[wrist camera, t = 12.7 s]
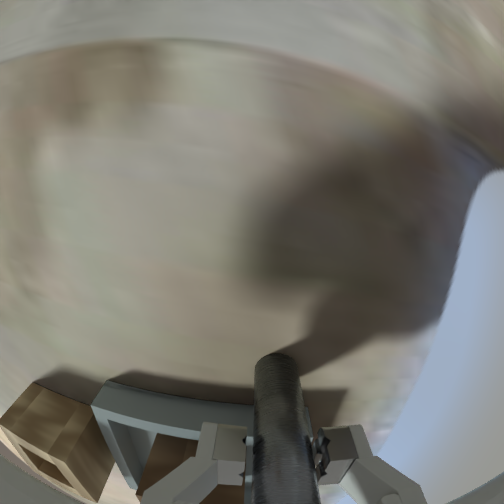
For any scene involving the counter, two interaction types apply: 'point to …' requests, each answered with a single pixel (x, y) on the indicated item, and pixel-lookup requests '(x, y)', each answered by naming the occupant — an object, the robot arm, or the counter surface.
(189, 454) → the block
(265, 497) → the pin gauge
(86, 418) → the block
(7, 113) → the counter surface
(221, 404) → the tray
